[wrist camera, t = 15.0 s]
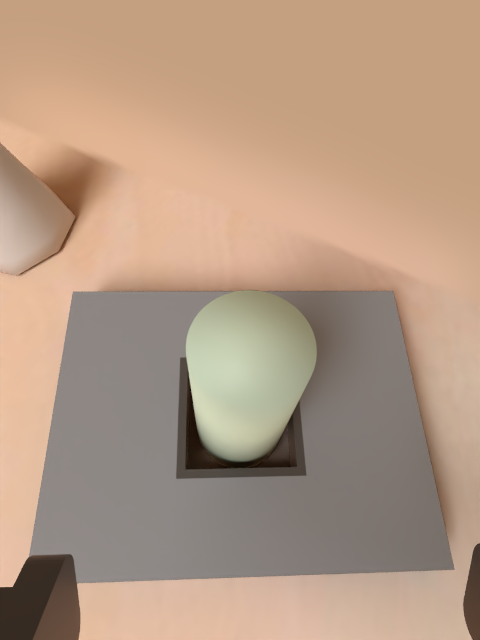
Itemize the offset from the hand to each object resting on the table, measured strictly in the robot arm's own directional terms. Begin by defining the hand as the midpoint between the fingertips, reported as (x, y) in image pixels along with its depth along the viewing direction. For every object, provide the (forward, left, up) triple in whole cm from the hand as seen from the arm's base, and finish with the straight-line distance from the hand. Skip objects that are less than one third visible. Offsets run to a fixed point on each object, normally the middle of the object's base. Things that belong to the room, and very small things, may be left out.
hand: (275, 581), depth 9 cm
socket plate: (0, -7, -13) cm, 15 cm away
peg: (0, -7, -13) cm, 15 cm away
